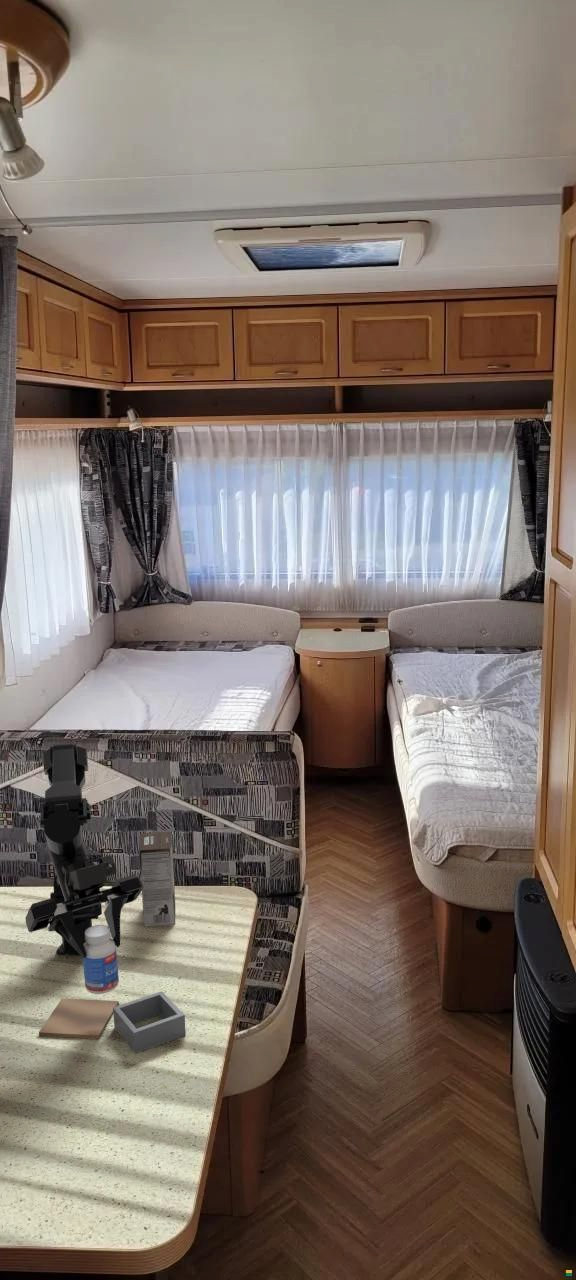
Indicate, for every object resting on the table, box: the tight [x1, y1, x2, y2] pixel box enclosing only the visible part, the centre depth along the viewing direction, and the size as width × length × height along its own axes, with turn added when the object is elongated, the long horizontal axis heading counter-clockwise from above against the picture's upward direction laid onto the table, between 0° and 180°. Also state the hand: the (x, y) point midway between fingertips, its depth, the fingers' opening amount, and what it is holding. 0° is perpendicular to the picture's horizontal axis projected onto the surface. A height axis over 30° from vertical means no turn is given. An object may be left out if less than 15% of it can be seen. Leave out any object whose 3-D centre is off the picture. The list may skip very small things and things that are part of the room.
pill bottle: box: [82, 924, 120, 995], centre depth 157 cm, size 6×5×10 cm
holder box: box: [112, 990, 187, 1055], centre depth 155 cm, size 9×9×4 cm
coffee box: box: [138, 831, 176, 927], centre depth 194 cm, size 9×6×16 cm
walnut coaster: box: [38, 997, 120, 1040], centre depth 159 cm, size 10×10×1 cm
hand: (102, 951), depth 155 cm, fingers closed on pill bottle, 5 cm apart
